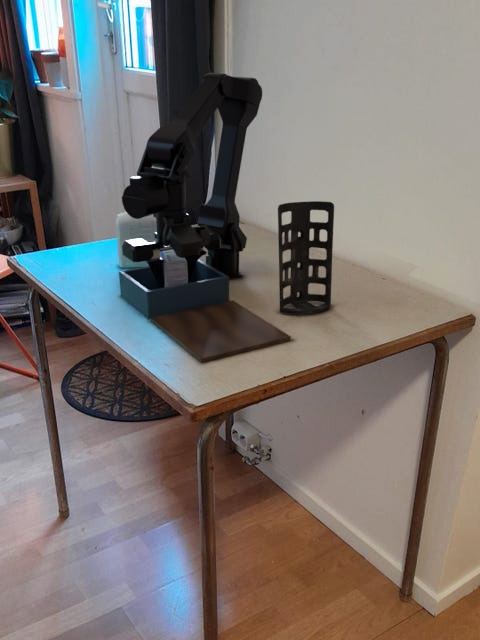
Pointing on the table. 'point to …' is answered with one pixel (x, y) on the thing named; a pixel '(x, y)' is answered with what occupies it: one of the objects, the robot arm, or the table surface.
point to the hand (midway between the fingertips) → (174, 287)
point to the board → (219, 330)
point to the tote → (173, 290)
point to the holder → (304, 256)
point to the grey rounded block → (134, 235)
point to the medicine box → (174, 269)
